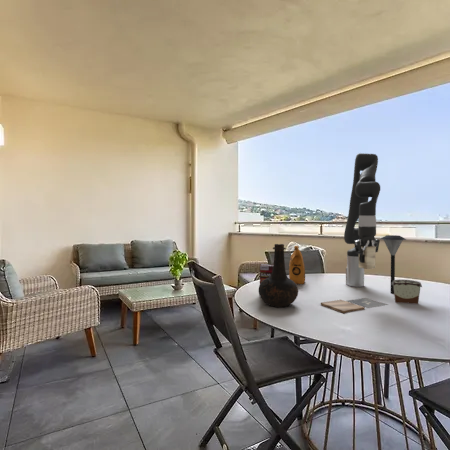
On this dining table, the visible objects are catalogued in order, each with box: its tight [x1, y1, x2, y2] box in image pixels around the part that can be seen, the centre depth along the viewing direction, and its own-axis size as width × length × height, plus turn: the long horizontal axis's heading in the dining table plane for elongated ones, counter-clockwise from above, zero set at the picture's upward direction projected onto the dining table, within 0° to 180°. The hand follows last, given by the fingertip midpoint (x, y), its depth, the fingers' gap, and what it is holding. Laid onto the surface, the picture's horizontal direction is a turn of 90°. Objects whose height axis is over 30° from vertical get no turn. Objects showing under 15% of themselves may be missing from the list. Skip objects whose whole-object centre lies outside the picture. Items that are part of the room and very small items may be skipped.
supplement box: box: [259, 263, 273, 284], centre depth 164 cm, size 9×5×16 cm, turn 77°
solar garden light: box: [380, 234, 407, 294], centre depth 168 cm, size 12×12×30 cm
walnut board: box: [320, 299, 366, 314], centre depth 144 cm, size 14×12×1 cm
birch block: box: [359, 246, 376, 270], centre depth 149 cm, size 5×5×10 cm
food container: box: [392, 279, 423, 305], centre depth 151 cm, size 12×6×10 cm, turn 71°
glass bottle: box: [258, 243, 299, 308], centre depth 149 cm, size 18×18×28 cm
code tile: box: [346, 297, 389, 309], centre depth 150 cm, size 13×13×1 cm
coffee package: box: [288, 245, 306, 285], centre depth 197 cm, size 10×12×22 cm
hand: (366, 262), depth 149 cm, fingers closed on birch block, 5 cm apart
